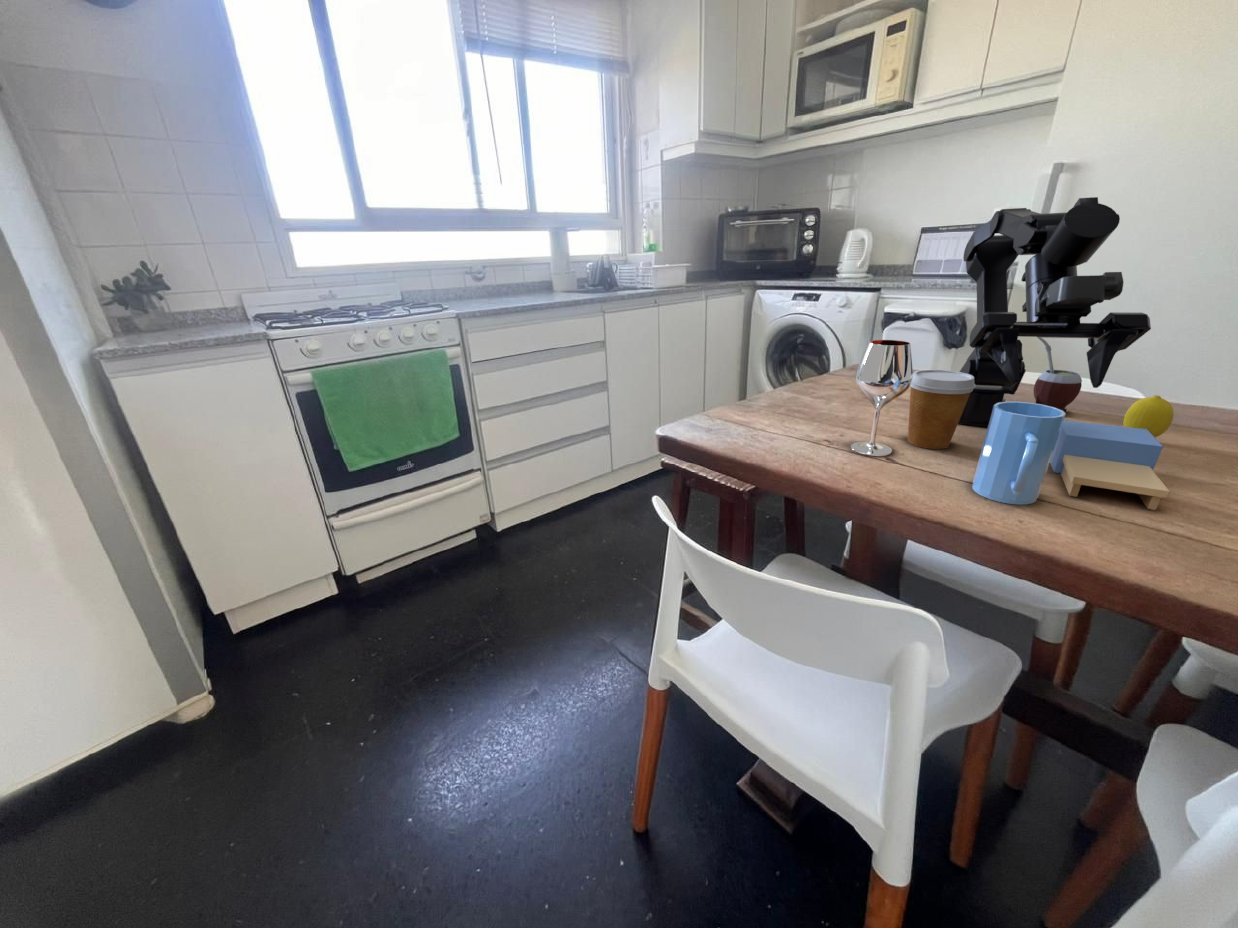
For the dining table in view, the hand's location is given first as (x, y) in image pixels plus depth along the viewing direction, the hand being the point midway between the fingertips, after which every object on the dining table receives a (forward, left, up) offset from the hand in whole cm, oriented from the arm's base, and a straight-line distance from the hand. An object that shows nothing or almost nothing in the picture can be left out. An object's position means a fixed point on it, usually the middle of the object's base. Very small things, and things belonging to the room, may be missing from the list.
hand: (1055, 384), depth 68 cm
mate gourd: (+6, +39, -14) cm, 42 cm away
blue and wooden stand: (+8, +2, -14) cm, 16 cm away
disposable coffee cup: (-13, +8, -14) cm, 21 cm away
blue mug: (-3, -10, -14) cm, 17 cm away
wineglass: (-21, 0, -14) cm, 25 cm away
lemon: (+17, +25, -14) cm, 33 cm away
